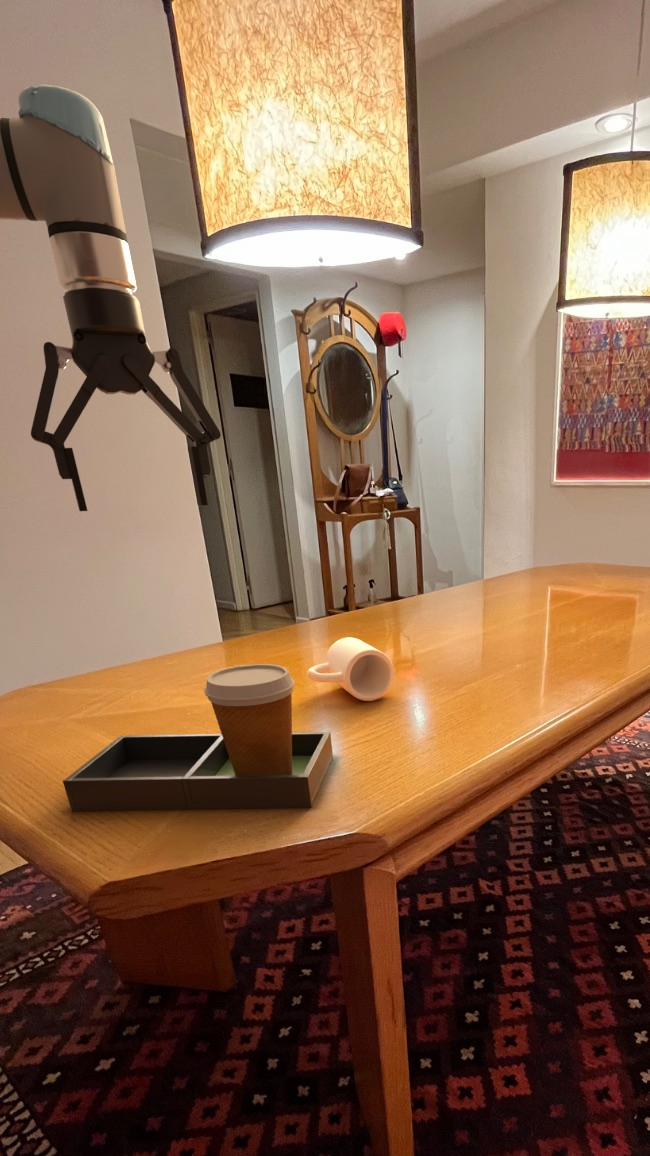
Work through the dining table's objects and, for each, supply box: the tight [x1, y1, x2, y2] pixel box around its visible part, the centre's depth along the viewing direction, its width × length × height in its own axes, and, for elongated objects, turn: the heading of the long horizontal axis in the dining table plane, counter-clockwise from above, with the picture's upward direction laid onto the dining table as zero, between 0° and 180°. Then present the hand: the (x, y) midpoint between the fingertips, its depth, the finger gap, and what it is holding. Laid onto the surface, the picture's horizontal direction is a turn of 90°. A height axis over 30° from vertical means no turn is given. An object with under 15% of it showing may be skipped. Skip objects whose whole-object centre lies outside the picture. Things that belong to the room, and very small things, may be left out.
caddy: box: [62, 731, 334, 812], centre depth 77 cm, size 26×13×4 cm, turn 89°
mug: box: [307, 636, 395, 702], centre depth 106 cm, size 12×10×8 cm
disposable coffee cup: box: [203, 663, 296, 776], centre depth 75 cm, size 10×10×12 cm
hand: (145, 508), depth 82 cm, fingers open, 13 cm apart
